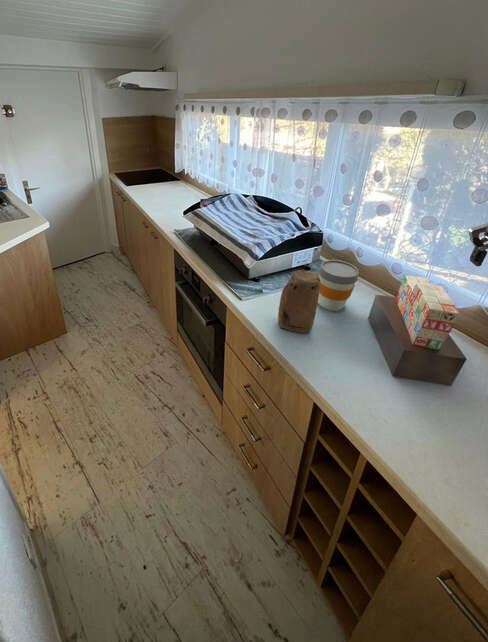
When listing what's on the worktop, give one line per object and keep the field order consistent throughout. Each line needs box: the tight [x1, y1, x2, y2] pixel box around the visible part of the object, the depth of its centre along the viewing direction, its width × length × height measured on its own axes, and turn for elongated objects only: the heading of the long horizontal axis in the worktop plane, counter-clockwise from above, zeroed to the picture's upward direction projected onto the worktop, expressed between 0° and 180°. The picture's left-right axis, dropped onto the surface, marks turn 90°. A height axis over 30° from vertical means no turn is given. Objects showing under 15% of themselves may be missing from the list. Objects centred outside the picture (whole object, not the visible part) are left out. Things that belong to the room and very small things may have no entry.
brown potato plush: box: [277, 269, 320, 334], centre depth 97 cm, size 11×8×20 cm
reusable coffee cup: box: [318, 259, 359, 312], centre depth 109 cm, size 13×13×15 cm
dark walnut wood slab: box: [367, 294, 468, 387], centre depth 90 cm, size 14×25×10 cm, turn 167°
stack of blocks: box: [396, 274, 461, 350], centre depth 85 cm, size 21×6×12 cm, turn 160°
